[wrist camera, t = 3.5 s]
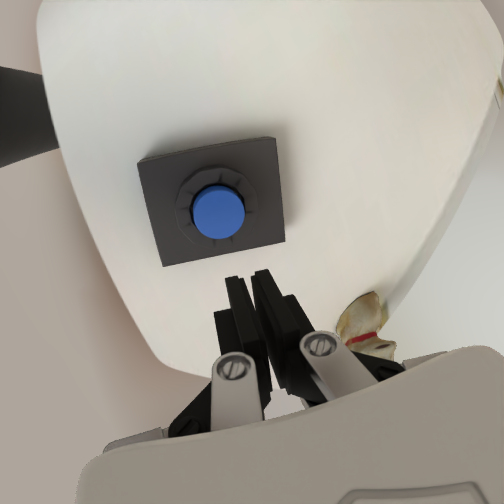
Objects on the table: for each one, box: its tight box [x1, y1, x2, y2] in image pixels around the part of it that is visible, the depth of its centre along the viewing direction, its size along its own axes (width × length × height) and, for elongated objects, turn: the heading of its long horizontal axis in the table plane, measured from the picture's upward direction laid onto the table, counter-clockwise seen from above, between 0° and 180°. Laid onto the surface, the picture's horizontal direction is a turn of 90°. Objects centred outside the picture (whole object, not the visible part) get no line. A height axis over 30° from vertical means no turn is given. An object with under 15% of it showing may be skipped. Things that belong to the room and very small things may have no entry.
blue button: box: [193, 186, 245, 239], centre depth 24 cm, size 4×4×2 cm
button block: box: [137, 137, 285, 267], centre depth 26 cm, size 12×10×4 cm
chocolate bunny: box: [336, 292, 397, 361], centre depth 34 cm, size 6×8×10 cm
